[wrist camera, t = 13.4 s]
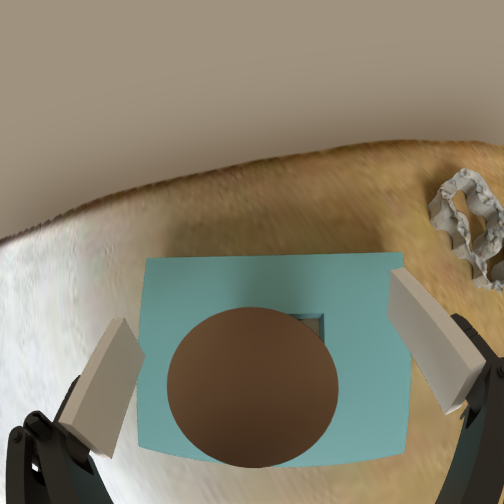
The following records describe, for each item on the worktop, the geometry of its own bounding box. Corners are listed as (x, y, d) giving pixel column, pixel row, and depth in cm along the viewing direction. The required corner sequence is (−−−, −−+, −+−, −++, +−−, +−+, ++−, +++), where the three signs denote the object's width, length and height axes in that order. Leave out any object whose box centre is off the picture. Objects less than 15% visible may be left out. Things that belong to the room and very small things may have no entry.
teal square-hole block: (156, 436, 17) (138, 446, 14) (163, 269, 22) (146, 257, 19) (389, 441, 15) (403, 452, 12) (388, 265, 20) (402, 252, 17)
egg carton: (415, 209, 21) (433, 185, 17) (455, 179, 22) (472, 155, 18) (478, 305, 17) (506, 294, 13) (511, 260, 18) (535, 245, 14)
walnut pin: (242, 392, 18) (168, 456, 6) (243, 334, 19) (170, 304, 7) (304, 393, 17) (333, 466, 5) (305, 333, 19) (338, 304, 7)
